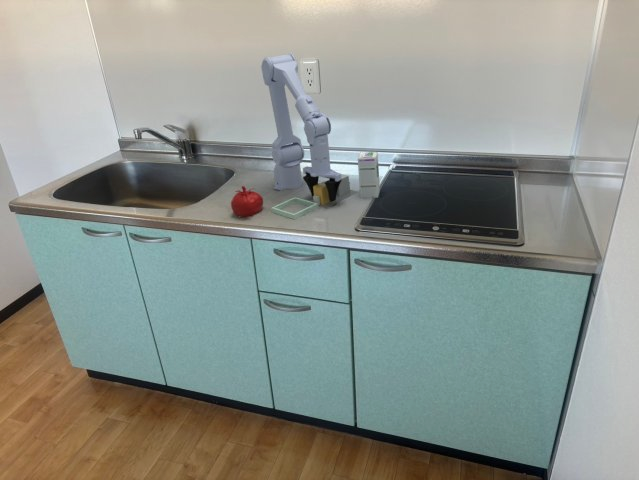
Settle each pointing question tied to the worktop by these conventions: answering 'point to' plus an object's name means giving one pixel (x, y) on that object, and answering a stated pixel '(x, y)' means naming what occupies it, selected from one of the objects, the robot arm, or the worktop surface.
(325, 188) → the block
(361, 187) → the syrup box
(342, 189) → the grey rectangular block
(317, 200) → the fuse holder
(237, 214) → the pomegranate
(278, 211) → the tray
